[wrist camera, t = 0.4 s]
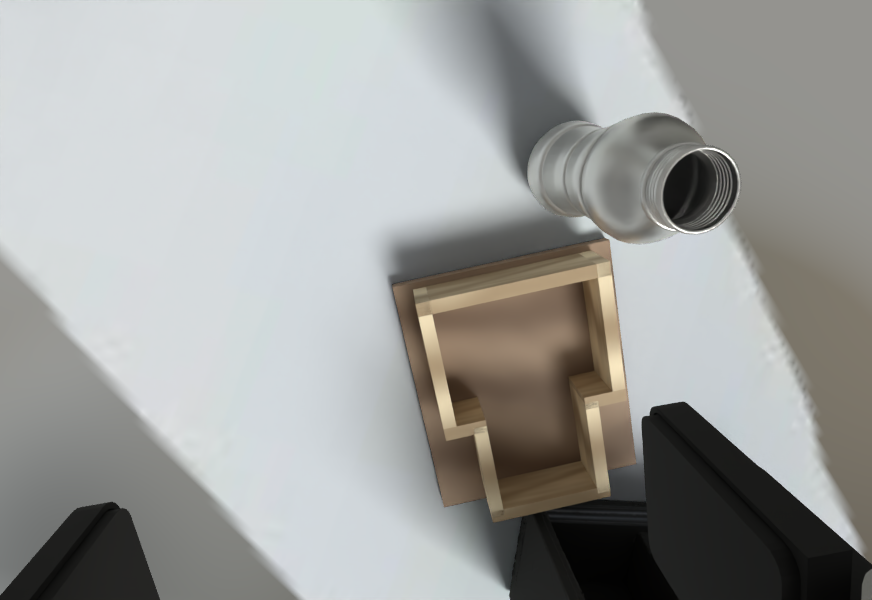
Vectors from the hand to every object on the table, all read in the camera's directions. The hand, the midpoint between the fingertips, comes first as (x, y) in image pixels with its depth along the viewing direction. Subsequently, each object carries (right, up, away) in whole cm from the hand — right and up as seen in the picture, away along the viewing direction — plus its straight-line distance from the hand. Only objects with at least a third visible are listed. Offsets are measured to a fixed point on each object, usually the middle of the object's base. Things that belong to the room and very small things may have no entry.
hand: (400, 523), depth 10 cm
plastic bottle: (+10, +14, +33) cm, 37 cm away
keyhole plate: (+8, -2, +37) cm, 38 cm away
